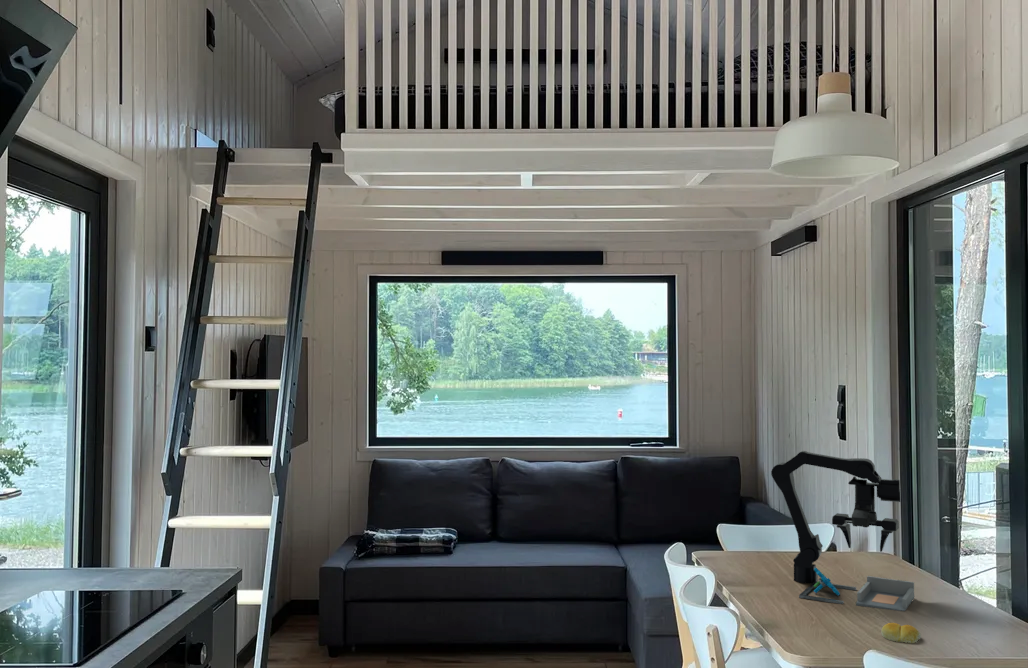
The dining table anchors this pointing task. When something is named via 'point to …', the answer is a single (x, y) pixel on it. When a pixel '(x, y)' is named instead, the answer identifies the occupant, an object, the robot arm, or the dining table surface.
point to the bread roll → (900, 633)
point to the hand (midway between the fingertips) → (865, 549)
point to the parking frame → (805, 596)
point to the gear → (824, 582)
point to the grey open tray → (886, 594)
